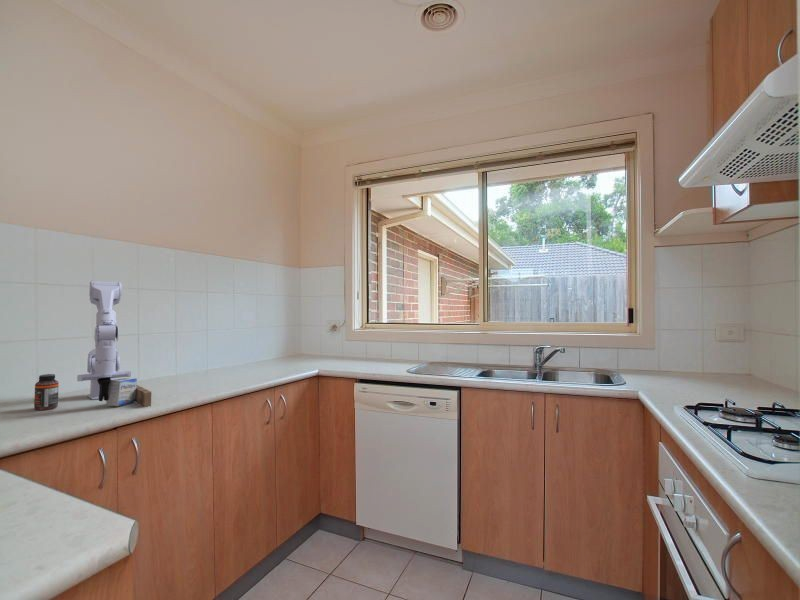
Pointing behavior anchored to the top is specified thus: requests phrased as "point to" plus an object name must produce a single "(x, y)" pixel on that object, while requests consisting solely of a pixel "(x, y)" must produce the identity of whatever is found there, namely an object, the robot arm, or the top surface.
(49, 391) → the supplement bottle
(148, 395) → the walnut board
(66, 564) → the top surface
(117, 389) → the medicine box
